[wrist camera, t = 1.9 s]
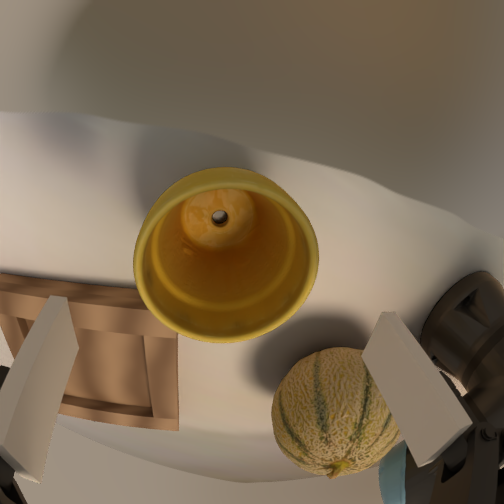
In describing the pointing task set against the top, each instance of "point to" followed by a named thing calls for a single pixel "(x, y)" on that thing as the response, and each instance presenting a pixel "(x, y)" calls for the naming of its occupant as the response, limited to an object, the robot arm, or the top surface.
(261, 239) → the plant pot
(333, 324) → the top surface
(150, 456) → the top surface
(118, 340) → the walnut tray
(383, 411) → the cantaloupe
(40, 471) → the robot arm
